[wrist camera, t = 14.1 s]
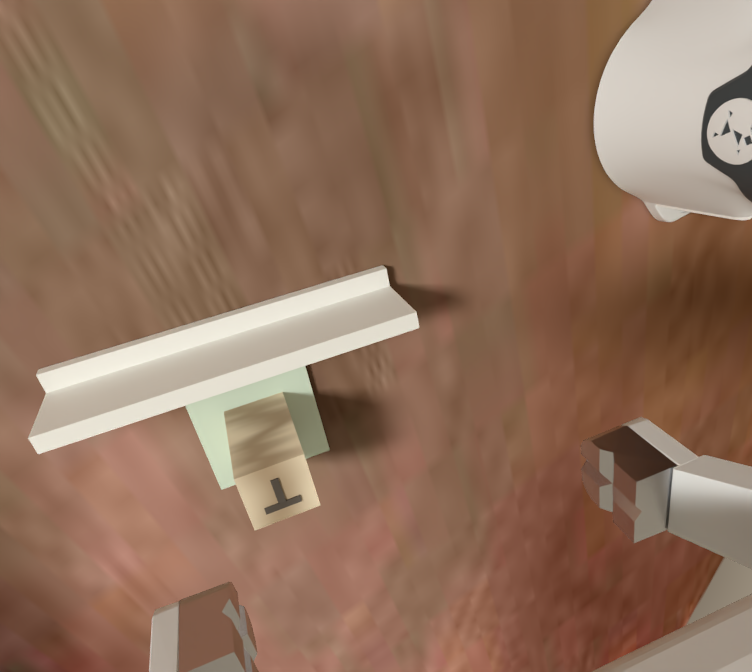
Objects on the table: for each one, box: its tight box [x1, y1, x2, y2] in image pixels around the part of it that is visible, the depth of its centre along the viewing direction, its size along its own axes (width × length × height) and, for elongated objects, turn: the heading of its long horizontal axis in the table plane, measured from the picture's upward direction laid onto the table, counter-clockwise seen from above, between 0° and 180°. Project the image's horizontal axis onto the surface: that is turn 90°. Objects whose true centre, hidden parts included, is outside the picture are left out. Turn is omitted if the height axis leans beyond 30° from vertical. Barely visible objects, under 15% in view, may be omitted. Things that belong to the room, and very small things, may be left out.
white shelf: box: [28, 265, 419, 454], centre depth 37 cm, size 24×4×6 cm, turn 101°
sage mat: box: [185, 366, 330, 490], centre depth 43 cm, size 9×9×1 cm
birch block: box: [224, 392, 320, 530], centre depth 39 cm, size 4×4×8 cm
